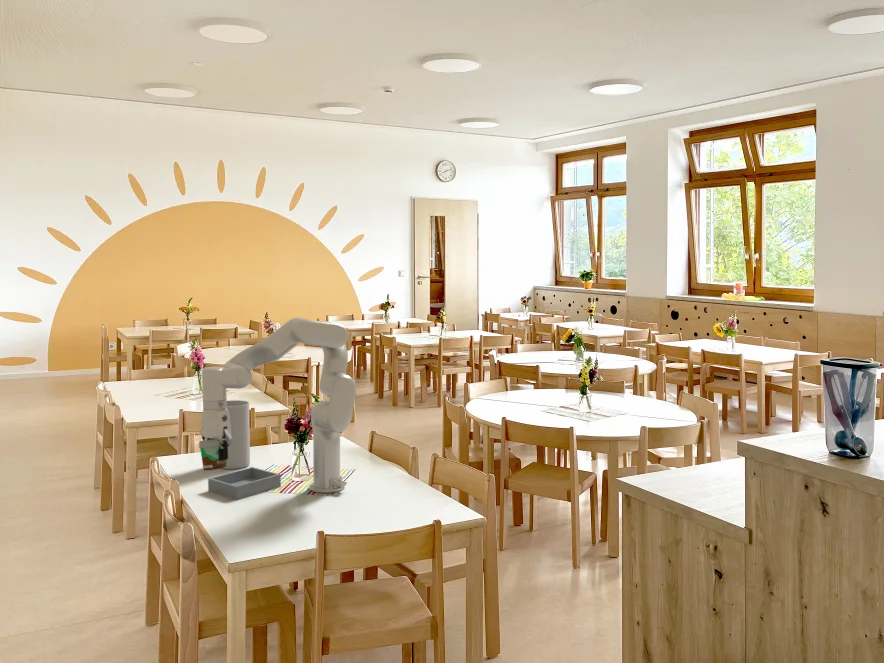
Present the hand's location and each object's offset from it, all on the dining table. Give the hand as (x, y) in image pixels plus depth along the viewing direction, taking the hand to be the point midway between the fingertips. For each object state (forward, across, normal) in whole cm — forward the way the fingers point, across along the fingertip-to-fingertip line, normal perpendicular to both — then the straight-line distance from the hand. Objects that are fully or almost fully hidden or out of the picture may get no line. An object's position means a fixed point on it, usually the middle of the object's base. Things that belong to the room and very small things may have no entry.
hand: (216, 457), depth 260 cm
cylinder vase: (+17, +37, -35) cm, 54 cm away
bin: (+17, +9, -18) cm, 27 cm away
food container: (+3, -1, 0) cm, 3 cm away
